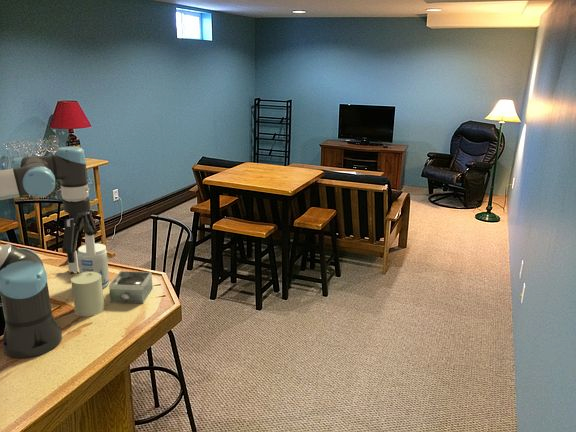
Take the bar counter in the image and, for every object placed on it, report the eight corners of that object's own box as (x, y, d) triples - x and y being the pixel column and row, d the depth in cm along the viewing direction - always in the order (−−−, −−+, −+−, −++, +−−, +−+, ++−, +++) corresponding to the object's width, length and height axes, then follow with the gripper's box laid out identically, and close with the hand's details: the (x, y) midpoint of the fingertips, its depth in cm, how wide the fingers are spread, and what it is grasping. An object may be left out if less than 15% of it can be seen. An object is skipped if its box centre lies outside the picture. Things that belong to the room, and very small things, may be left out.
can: (109, 303, 160) (106, 271, 156) (96, 317, 151) (92, 283, 147) (83, 301, 161) (79, 269, 157) (68, 315, 152) (64, 281, 148)
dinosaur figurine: (99, 270, 184) (97, 248, 182) (91, 276, 179) (88, 253, 176) (67, 266, 187) (64, 244, 184) (58, 273, 181) (54, 250, 178)
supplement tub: (83, 293, 166) (78, 255, 161) (79, 283, 174) (74, 245, 169) (112, 287, 171) (108, 249, 166) (106, 277, 178) (103, 241, 174)
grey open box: (141, 305, 159) (140, 288, 157) (109, 304, 159) (107, 286, 157) (152, 288, 171) (151, 272, 169) (122, 287, 171) (120, 271, 169)
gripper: (70, 210, 133) (78, 279, 139) (103, 188, 156) (108, 247, 163) (43, 209, 132) (52, 279, 139) (80, 187, 156) (86, 247, 163)
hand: (82, 262), depth 151 cm, fingers open, 13 cm apart
